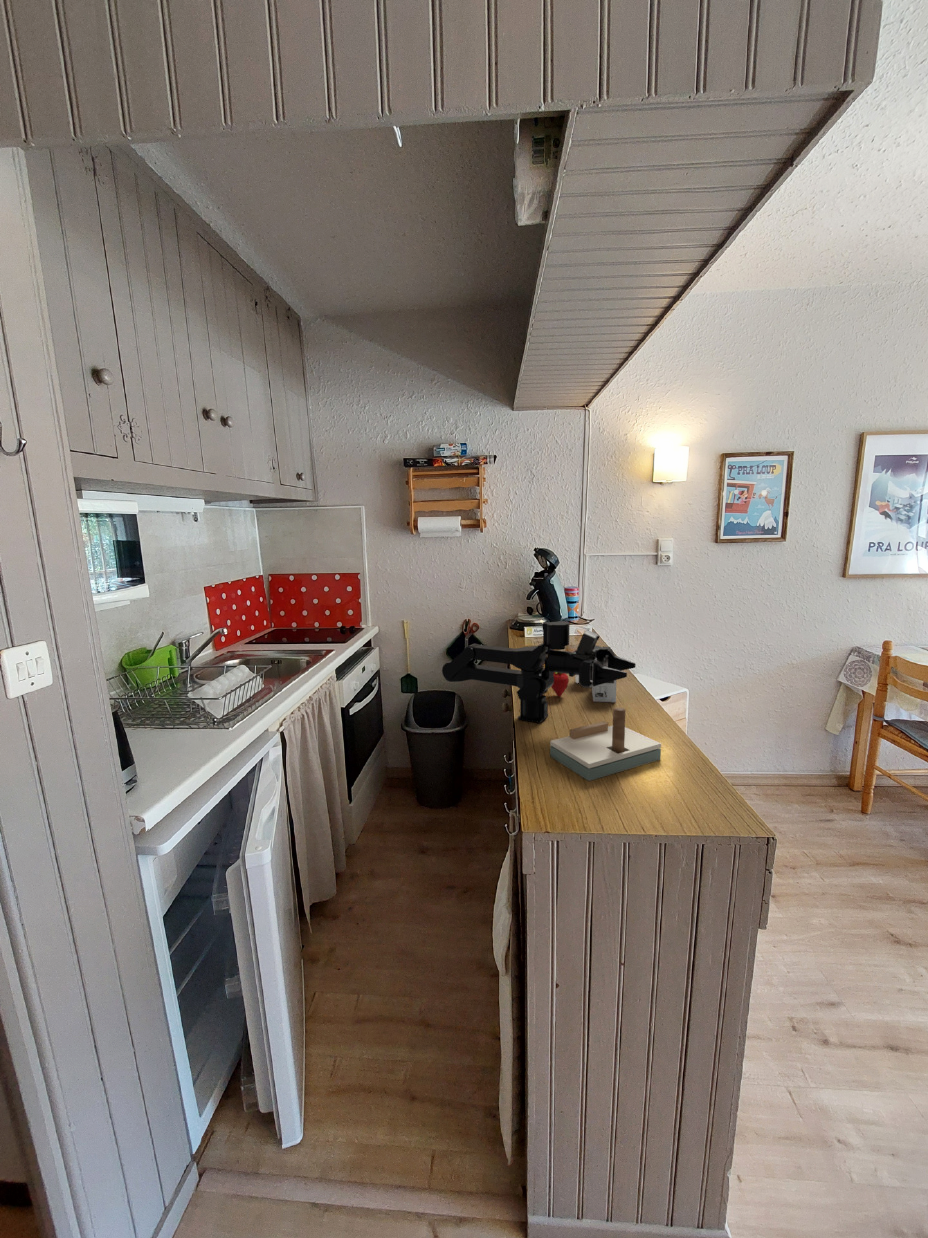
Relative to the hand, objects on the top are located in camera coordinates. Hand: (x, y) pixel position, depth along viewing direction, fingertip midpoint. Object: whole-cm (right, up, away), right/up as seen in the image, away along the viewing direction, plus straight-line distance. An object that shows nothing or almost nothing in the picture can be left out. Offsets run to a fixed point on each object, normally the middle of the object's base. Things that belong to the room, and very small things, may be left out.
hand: (631, 670), depth 120 cm
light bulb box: (+2, -12, +32) cm, 34 cm away
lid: (-9, -16, -10) cm, 21 cm away
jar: (+1, -9, +46) cm, 47 cm away
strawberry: (-11, -12, +33) cm, 36 cm away
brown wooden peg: (-7, -19, -13) cm, 24 cm away
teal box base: (-9, -19, -9) cm, 23 cm away
